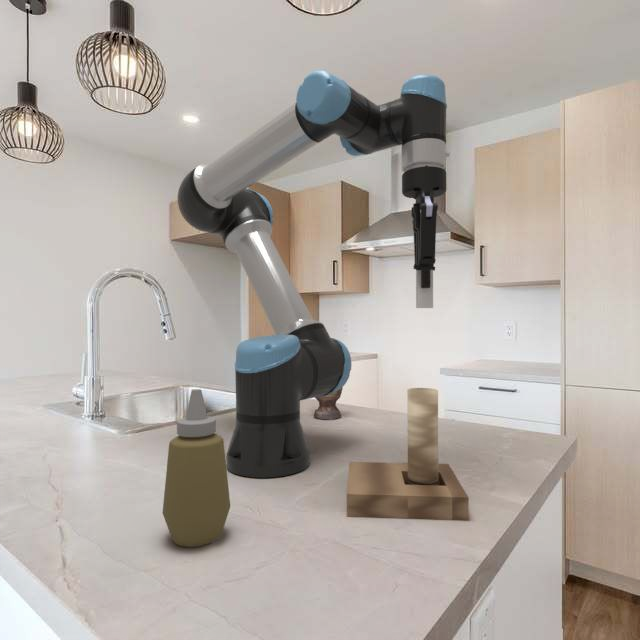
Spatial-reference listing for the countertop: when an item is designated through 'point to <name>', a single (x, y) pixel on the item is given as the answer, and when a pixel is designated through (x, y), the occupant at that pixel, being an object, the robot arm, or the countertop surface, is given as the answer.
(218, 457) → the squeeze bottle
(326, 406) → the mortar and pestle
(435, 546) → the countertop surface
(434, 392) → the peg
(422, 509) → the board
